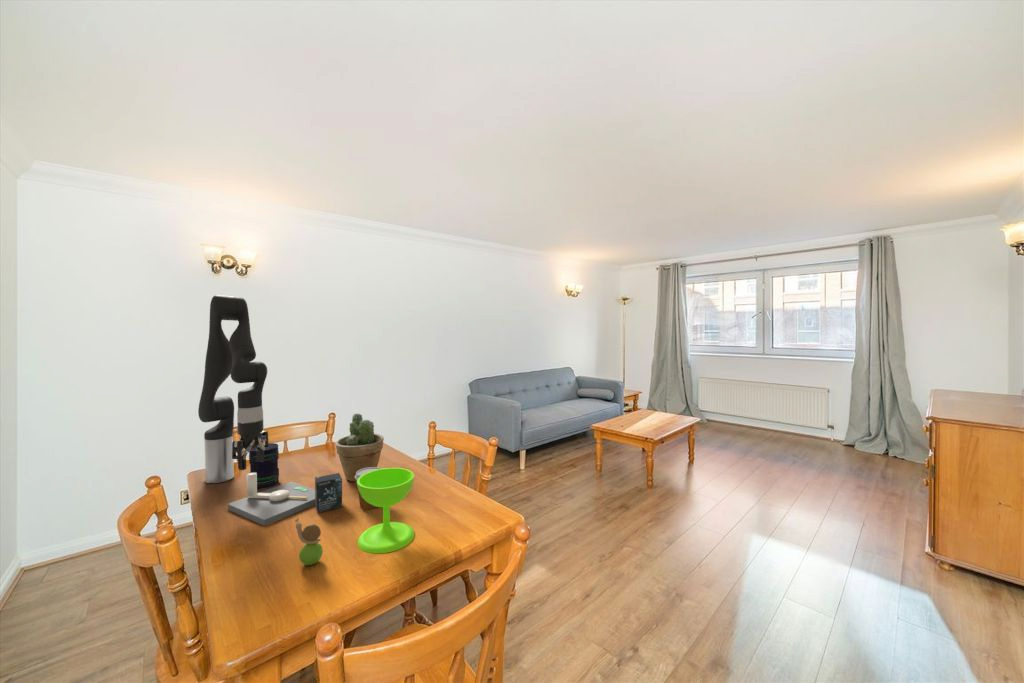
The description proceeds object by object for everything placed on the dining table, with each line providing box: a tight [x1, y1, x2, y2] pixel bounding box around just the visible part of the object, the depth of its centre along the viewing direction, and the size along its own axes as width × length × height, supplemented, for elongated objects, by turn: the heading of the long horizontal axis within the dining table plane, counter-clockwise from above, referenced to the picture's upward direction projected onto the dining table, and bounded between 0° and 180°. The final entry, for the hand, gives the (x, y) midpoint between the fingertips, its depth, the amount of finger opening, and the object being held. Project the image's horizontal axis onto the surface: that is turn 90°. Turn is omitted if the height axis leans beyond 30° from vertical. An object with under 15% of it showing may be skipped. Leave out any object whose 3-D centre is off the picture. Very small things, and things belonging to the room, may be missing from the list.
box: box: [314, 472, 343, 514], centre depth 134 cm, size 8×6×11 cm
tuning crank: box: [246, 472, 307, 502], centre depth 136 cm, size 22×6×8 cm, turn 86°
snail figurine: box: [294, 517, 324, 566], centre depth 102 cm, size 5×6×12 cm
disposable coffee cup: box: [355, 466, 383, 510], centre depth 136 cm, size 10×10×12 cm
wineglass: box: [356, 467, 415, 554], centre depth 115 cm, size 16×16×18 cm
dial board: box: [227, 481, 315, 527], centre depth 137 cm, size 22×22×2 cm
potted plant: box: [335, 413, 385, 483], centre depth 161 cm, size 18×19×25 cm
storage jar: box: [248, 442, 280, 491], centre depth 153 cm, size 10×10×15 cm
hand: (251, 465), depth 137 cm, fingers open, 8 cm apart
